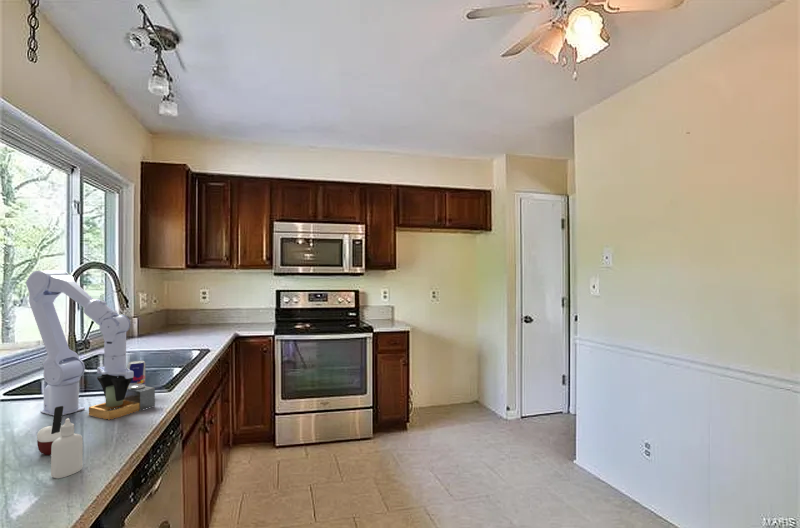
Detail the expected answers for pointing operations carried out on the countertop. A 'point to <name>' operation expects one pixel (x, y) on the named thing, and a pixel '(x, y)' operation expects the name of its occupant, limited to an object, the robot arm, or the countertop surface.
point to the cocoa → (50, 433)
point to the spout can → (112, 397)
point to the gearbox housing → (127, 403)
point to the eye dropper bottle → (66, 452)
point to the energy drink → (137, 372)
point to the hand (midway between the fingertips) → (114, 399)
